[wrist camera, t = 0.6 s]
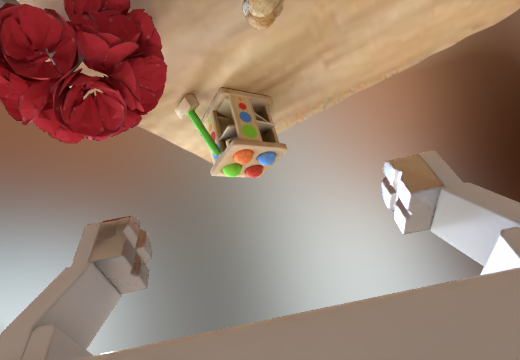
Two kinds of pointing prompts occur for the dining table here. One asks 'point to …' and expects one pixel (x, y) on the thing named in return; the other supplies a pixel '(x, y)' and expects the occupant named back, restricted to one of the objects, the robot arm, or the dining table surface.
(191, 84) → the dining table surface
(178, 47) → the dining table surface
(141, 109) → the bouquet
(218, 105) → the pounding bench toy
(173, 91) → the dining table surface
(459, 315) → the robot arm
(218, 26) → the dining table surface
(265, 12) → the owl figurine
